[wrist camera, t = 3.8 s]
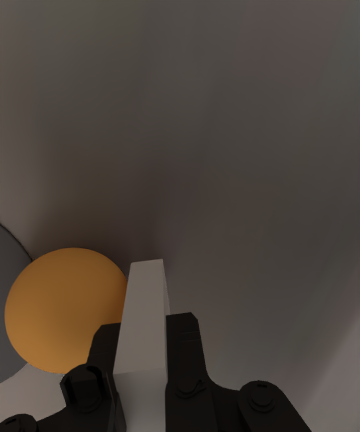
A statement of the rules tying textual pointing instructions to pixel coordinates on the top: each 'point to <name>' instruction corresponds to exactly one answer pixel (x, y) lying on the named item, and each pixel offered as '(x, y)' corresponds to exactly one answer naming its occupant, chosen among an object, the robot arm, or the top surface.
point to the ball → (63, 307)
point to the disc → (3, 280)
